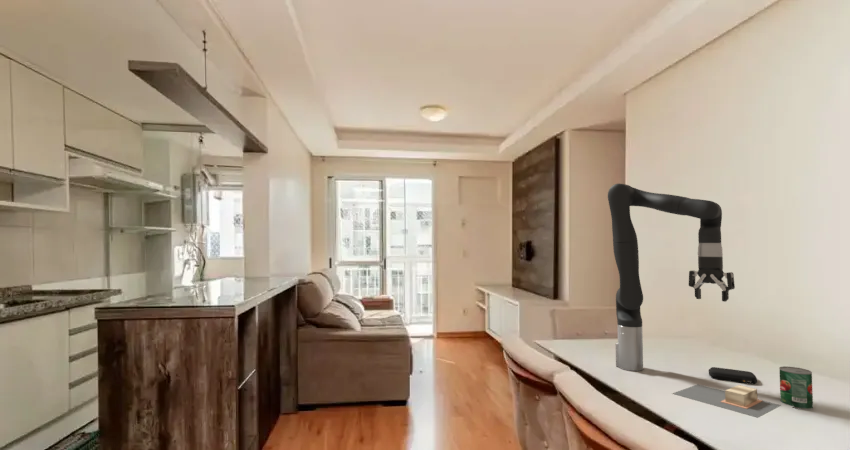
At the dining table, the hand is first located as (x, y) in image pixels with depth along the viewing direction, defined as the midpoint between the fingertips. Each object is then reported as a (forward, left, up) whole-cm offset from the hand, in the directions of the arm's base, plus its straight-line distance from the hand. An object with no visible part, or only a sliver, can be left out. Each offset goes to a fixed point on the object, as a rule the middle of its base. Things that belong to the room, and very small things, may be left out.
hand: (711, 300), depth 158 cm
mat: (+10, -16, -30) cm, 36 cm away
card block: (+14, -14, -29) cm, 35 cm away
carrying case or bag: (+1, +13, -31) cm, 33 cm away
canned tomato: (+24, -1, -30) cm, 39 cm away
